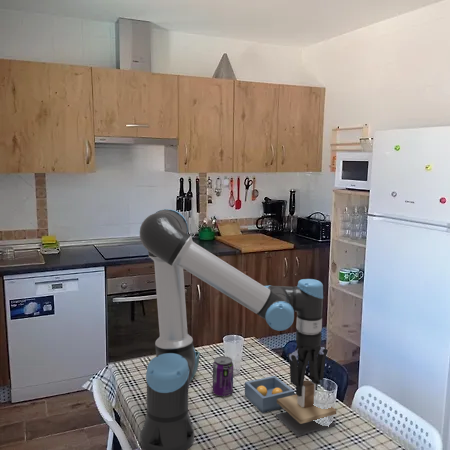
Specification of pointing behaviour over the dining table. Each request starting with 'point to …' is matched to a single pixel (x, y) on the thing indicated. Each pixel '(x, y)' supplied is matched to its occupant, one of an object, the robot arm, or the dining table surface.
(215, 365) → the beverage can
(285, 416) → the mat
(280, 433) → the dining table surface
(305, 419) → the lid
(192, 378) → the flower pot
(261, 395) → the dish
